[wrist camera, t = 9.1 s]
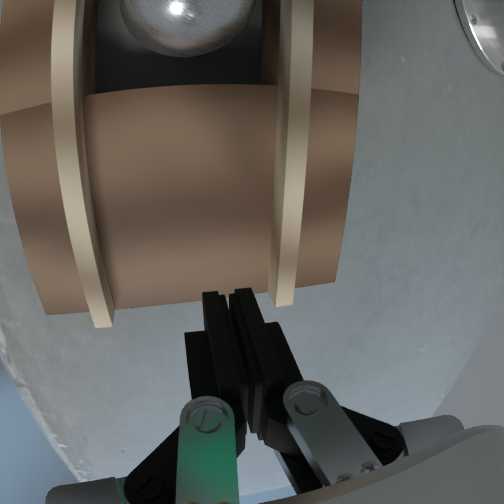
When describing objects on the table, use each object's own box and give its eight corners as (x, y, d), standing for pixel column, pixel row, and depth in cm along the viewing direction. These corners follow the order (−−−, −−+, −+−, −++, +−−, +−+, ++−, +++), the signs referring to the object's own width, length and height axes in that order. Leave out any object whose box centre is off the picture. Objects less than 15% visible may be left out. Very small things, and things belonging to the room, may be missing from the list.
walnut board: (34, -49, 8) (7, -75, 4) (334, -54, 12) (373, -76, 9) (56, 286, 19) (40, 331, 15) (315, 259, 23) (345, 295, 19)
